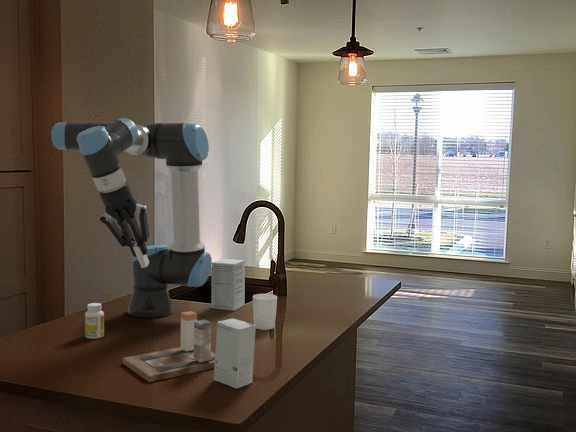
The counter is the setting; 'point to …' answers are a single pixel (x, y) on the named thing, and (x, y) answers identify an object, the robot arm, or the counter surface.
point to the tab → (187, 330)
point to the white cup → (264, 311)
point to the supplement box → (228, 284)
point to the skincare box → (234, 352)
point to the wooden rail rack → (176, 357)
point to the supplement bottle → (94, 321)
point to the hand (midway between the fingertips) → (145, 264)
